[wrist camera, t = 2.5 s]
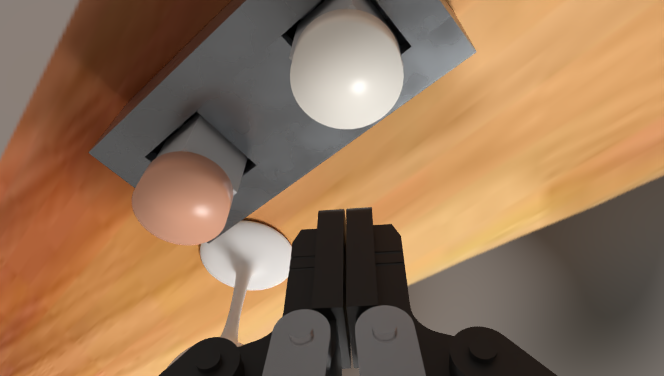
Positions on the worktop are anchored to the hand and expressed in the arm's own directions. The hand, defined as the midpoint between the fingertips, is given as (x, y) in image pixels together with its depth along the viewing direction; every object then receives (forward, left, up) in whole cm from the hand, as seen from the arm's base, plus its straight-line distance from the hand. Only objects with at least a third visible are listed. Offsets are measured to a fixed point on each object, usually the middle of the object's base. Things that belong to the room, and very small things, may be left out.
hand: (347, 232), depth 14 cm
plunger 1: (0, +12, -18) cm, 21 cm away
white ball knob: (0, 0, -18) cm, 18 cm away
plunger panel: (0, +6, -23) cm, 23 cm away
